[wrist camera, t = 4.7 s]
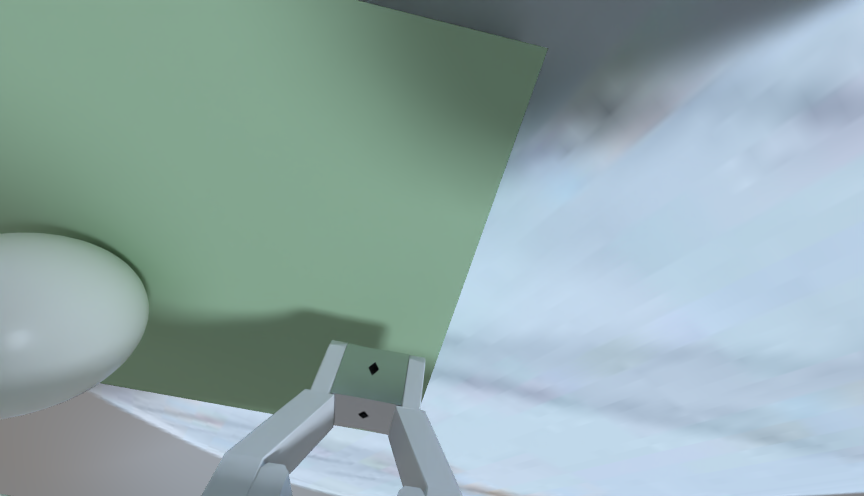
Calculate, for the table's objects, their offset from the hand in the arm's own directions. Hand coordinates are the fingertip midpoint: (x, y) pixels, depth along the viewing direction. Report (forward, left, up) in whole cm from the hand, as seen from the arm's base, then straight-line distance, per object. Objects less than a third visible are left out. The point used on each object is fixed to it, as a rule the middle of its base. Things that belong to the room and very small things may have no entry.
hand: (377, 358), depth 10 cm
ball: (0, -10, +1) cm, 10 cm away
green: (0, -11, -5) cm, 12 cm away
